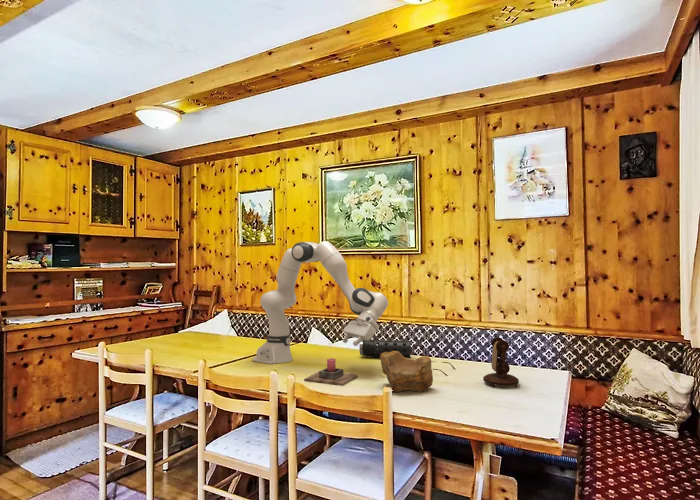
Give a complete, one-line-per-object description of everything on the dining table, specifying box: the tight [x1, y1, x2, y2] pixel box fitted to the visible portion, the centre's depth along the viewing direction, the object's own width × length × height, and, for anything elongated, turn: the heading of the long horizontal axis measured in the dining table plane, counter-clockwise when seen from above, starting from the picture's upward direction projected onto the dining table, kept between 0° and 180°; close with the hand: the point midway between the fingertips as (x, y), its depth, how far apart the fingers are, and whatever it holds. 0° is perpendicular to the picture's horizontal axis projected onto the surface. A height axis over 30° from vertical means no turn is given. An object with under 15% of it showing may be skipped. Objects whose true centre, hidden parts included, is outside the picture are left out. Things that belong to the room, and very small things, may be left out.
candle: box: [326, 357, 337, 373], centre depth 206 cm, size 4×4×9 cm
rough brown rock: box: [379, 351, 434, 393], centre depth 187 cm, size 23×17×15 cm
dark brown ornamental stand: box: [482, 336, 520, 388], centre depth 194 cm, size 15×15×20 cm
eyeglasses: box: [431, 360, 456, 377], centre depth 219 cm, size 16×19×5 cm
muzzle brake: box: [359, 338, 412, 359], centre depth 247 cm, size 10×28×10 cm, turn 78°
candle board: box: [303, 367, 359, 387], centre depth 206 cm, size 20×16×4 cm
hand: (349, 343), depth 211 cm, fingers open, 8 cm apart
